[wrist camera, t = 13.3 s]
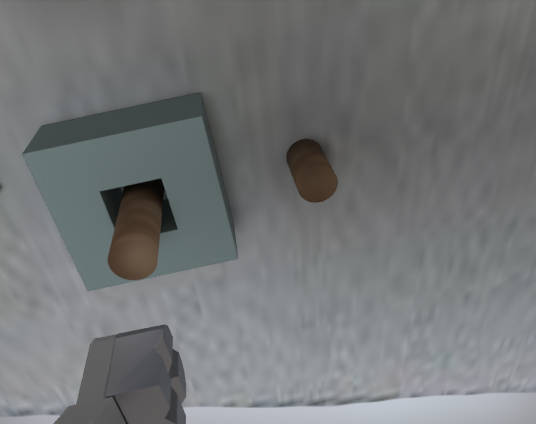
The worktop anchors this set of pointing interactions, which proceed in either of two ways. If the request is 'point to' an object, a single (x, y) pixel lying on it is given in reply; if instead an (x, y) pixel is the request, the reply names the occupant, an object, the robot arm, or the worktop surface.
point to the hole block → (132, 172)
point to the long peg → (137, 231)
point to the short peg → (311, 171)
